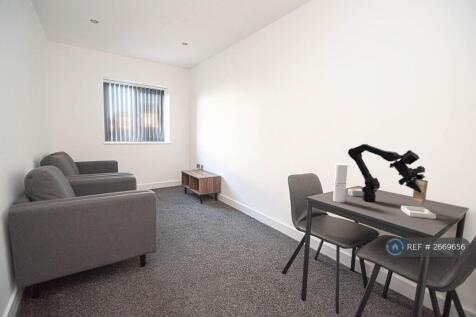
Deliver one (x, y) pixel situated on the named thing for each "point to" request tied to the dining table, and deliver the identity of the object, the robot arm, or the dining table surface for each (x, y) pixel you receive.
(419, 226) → the dining table surface
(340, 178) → the cylindrical container
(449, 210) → the dining table surface
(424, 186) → the oak block
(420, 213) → the tray
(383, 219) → the dining table surface
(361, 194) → the skincare box
